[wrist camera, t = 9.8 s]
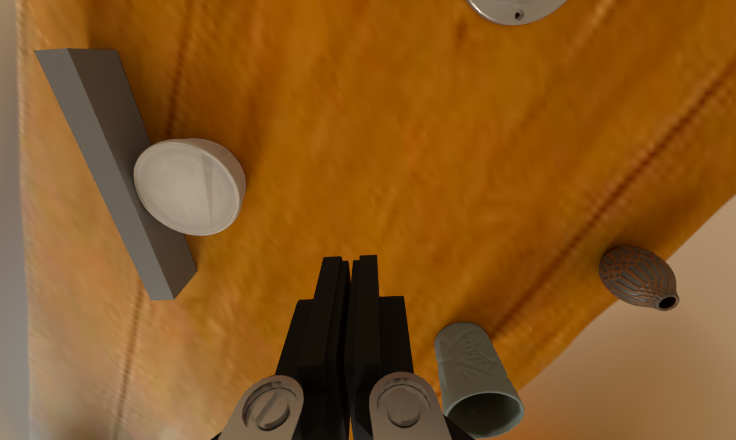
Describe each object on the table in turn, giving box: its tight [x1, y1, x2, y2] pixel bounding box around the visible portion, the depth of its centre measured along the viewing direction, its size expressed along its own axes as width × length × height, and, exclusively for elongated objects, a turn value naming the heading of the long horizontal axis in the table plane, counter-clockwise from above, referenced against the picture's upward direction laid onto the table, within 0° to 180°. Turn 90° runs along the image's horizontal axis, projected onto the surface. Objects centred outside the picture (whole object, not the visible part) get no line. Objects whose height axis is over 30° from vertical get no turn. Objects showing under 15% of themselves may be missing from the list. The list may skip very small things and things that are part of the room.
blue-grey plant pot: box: [435, 322, 524, 439], centre depth 46 cm, size 10×10×12 cm
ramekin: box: [133, 138, 246, 236], centre depth 37 cm, size 11×11×5 cm
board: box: [34, 48, 197, 300], centre depth 37 cm, size 28×3×6 cm, turn 3°
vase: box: [599, 246, 679, 311], centre depth 40 cm, size 7×7×9 cm
